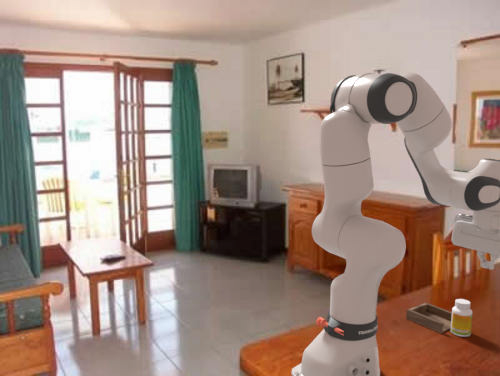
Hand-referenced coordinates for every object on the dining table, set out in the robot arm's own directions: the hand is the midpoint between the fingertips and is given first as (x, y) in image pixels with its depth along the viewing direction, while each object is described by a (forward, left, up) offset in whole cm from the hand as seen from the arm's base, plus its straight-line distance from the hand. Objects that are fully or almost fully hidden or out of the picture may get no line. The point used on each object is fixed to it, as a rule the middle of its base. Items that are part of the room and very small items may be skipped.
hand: (487, 268), depth 124 cm
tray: (0, +15, -21) cm, 26 cm away
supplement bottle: (0, +6, -22) cm, 22 cm away
